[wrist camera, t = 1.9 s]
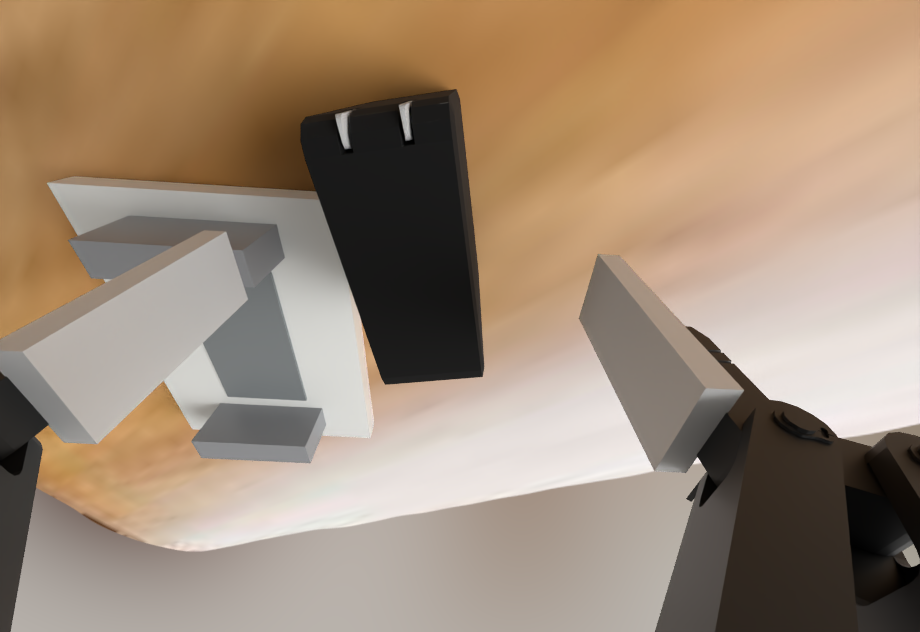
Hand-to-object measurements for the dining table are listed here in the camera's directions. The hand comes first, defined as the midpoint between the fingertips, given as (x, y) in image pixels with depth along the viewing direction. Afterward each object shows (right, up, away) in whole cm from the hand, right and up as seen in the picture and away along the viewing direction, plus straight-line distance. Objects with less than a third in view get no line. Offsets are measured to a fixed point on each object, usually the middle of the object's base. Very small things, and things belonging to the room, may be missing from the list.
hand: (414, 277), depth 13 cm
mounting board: (-13, -2, +12) cm, 18 cm away
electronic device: (0, +5, +7) cm, 9 cm away
